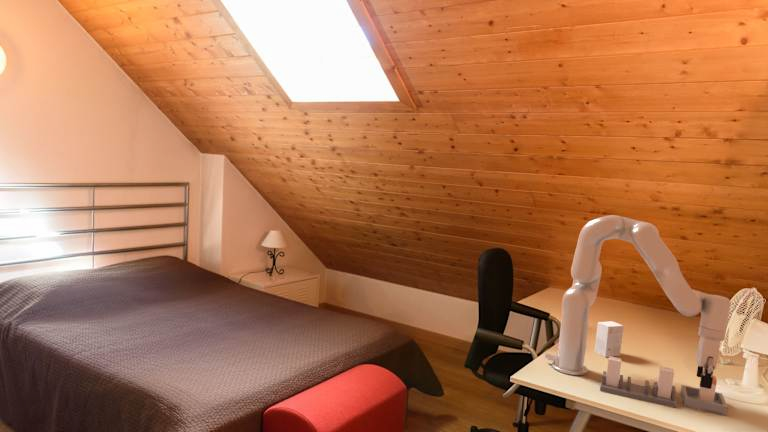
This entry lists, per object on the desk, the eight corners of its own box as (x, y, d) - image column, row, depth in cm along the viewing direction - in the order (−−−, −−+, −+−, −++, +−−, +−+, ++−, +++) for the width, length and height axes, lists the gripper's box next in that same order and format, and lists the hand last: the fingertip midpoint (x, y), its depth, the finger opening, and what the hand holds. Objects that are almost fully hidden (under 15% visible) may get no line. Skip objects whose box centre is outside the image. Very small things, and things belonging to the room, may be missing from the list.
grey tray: (683, 406, 177) (684, 397, 177) (680, 393, 188) (681, 384, 188) (726, 415, 173) (727, 406, 172) (720, 401, 183) (721, 393, 183)
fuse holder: (599, 390, 185) (603, 361, 184) (601, 380, 194) (604, 352, 193) (675, 407, 176) (679, 376, 175) (673, 396, 185) (677, 367, 184)
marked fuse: (699, 403, 179) (702, 377, 178) (697, 399, 183) (701, 373, 182) (713, 406, 177) (716, 380, 177) (711, 402, 181) (715, 376, 180)
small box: (608, 350, 228) (612, 320, 227) (620, 356, 223) (624, 325, 221) (593, 352, 225) (597, 321, 224) (605, 357, 219) (609, 326, 218)
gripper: (696, 323, 187) (688, 371, 189) (701, 337, 172) (693, 388, 174) (721, 328, 184) (713, 376, 186) (729, 342, 169) (720, 394, 171)
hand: (703, 382), depth 180 cm, fingers open, 9 cm apart
